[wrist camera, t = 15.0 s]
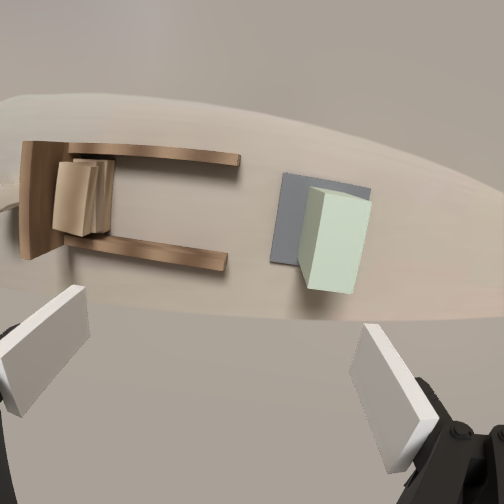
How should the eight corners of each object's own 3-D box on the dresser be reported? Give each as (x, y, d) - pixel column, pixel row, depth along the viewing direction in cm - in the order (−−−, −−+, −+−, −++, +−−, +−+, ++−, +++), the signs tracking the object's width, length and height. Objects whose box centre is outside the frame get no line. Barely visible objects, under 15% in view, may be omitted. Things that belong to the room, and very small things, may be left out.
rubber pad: (269, 259, 37) (269, 261, 37) (283, 172, 35) (283, 172, 34) (352, 271, 37) (353, 273, 37) (369, 188, 35) (370, 188, 34)
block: (297, 256, 37) (307, 288, 27) (308, 186, 35) (325, 193, 25) (331, 261, 37) (352, 294, 27) (344, 192, 35) (371, 201, 25)
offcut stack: (76, 225, 37) (51, 234, 32) (80, 158, 35) (54, 158, 30) (111, 230, 37) (88, 240, 32) (116, 160, 35) (92, 160, 30)
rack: (66, 237, 38) (20, 257, 28) (72, 143, 35) (22, 141, 25) (226, 263, 38) (212, 295, 28) (240, 155, 35) (230, 150, 25)
